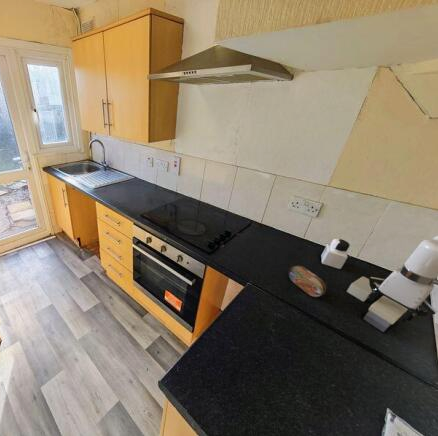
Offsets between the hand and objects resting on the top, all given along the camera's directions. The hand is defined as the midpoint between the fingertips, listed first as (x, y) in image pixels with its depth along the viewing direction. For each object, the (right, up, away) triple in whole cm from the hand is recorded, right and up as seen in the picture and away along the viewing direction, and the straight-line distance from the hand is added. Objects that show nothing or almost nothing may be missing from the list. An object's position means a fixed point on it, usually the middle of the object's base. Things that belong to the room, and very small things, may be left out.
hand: (387, 309), depth 82 cm
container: (+5, +11, +32) cm, 34 cm away
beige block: (+4, +1, +15) cm, 15 cm away
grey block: (0, -5, +3) cm, 6 cm away
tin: (-20, +3, +16) cm, 26 cm away
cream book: (0, -1, +1) cm, 1 cm away
